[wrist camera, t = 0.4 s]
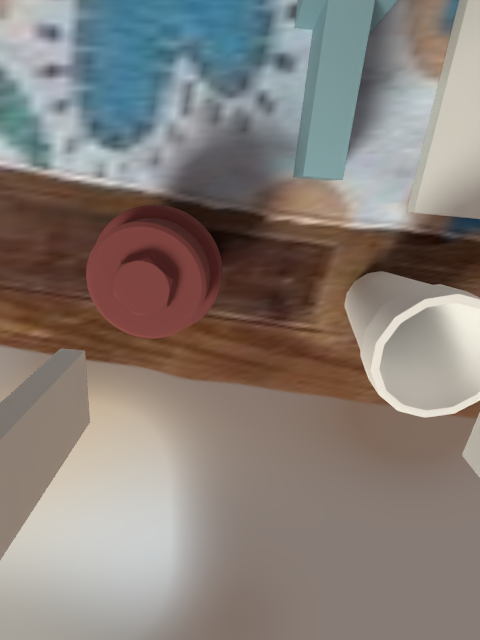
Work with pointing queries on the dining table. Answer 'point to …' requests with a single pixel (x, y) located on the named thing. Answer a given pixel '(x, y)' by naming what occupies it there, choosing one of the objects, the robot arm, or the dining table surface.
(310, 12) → the link
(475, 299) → the foam cup
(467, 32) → the board
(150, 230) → the mechanical component
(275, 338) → the dining table surface
